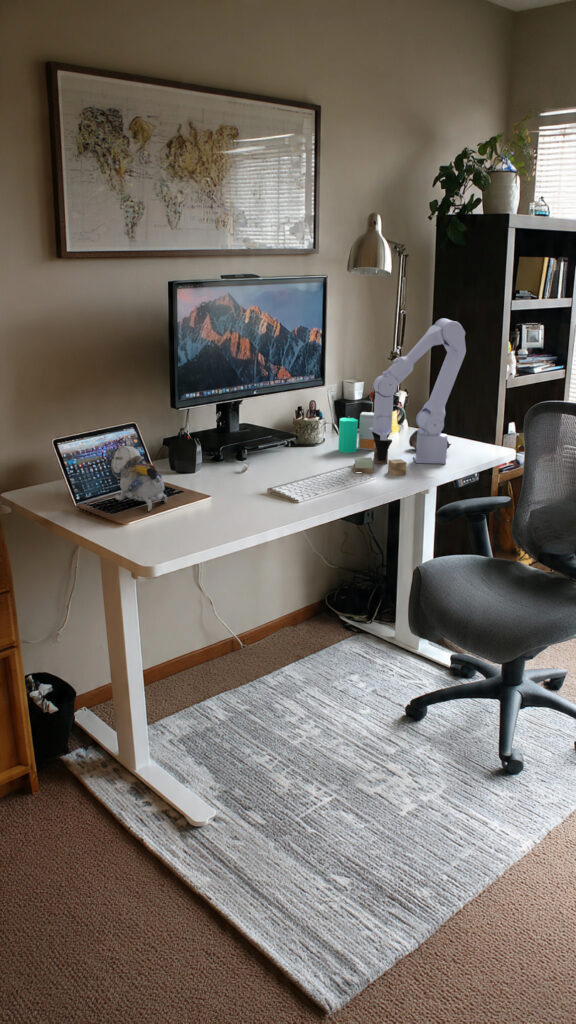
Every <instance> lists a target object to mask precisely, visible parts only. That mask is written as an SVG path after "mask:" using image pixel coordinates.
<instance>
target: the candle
mask: <svg viewBox="0 0 576 1024" xmlns="http://www.w3.org/2000/svg"><path fill="white" fill-rule="evenodd" d="M338 422H339V424H338V444H337V445H338V446H337V447H338V448H337V450H338V452H340V453H346V454H350V453H351V454H353V453H356V452H357V449H358V447H357V446H358V445H357V444H358V429H359V427H358V426H359V424H358V423H359V420H358V419H356V418H354V417H341V418H339V421H338Z"/></svg>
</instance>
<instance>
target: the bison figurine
mask: <svg viewBox="0 0 576 1024" xmlns="http://www.w3.org/2000/svg"><path fill="white" fill-rule="evenodd" d="M417 434H418V429H417V430H415V431H413V433H412V434H411V435H410V437H409V439H408V445H409V446H410V448H411V447H412V448H414V449H416V448H417ZM451 445H452V443H449V441H448V439H447V450H448V449H449V448H450V446H451Z"/></svg>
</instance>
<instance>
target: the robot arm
mask: <svg viewBox="0 0 576 1024" xmlns="http://www.w3.org/2000/svg"><path fill="white" fill-rule="evenodd" d="M465 337H466V331H465V329H464V328H463V326H462V324H461V323H460V322H459V321H454V320H451V319H449V318H445V317H444V318H440V319H438V320H436V321H435V323H434V324H432V325H431V326H430V327H429V328H428V330H427V331H426V332H425V333H424V335H423V336H422V337H421V338H420V339H419V340H418V342H417V343H416V344H415V345H414V346H413V348H412V349H411V350H410V351H409V352H408V353H407V354H406V355H405V356H399V357H398V358H395V359H393V360H392V362H393V363H392V364H391V365H390V366H389V367H388V368H387V369H386V370H384V371H382V374H381V375H379V376H377V377H376V378H375V380H374V382H373V384H372V388H373V390H374V391H375V393H374V395H375V396H374V405H373V406H374V408H373V413H374V422H373V428H369V431H373V432H372V434H373V437H374V442H375V447H376V448H377V457H378V461H385V459H386V456H387V452H388V453H389V449H390V446H391V444H392V443H393V439H392V438H391V439H388V438H390V434H391V433H392V432H393V429H392V428H393V425H392V424H393V414H394V413H393V412H394V394H395V393H396V392H397V389H398V386H399V385H400V384H401V383H402V382H403V381H404V380H405V379H406V378H407V377H408V376H409V375H410V374H411V373H412V372H413V371H414V365H415V363H417V361H418V360H420V358H422V356H424V355H425V354H426V353H427V352H428V351H429V350H430V349H431V348H432V347H434V346H441V345H443V346H444V348H445V351H446V355H445V358H444V361H443V362H442V366H441V368H440V371H439V374H438V375H437V379H436V381H435V384H434V386H433V389H432V391H431V394H430V396H429V399H428V400H427V401H426V402H425V403H424V405H423V406H422V409H421V410H420V411H419V412H418V413H417V415H416V418H415V422H416V425H417V426H418V429H417V430H418V434H417V448H416V451H415V454H413V459H414V461H415V463H416V464H442V465H443V464H445V465H446V464H447V454H448V453H447V451H448V449H447V440H448V435H447V433H442V431H443V430H444V428H445V417H446V404H447V402H448V399H449V396H450V395H451V392H452V390H453V387H454V385H455V382H456V379H457V376H458V373H459V371H460V369H461V366H462V364H463V361H464V359H465V356H466V352H467V348H466V347H467V346H466V339H465Z"/></svg>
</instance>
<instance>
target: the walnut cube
mask: <svg viewBox="0 0 576 1024" xmlns="http://www.w3.org/2000/svg"><path fill="white" fill-rule="evenodd" d="M388 456H389V451H388V452H387V456H386V459H385V461H378V457H377V448H374V452H373V464H378V465H379V464H380V465H381V464H384V465H387V464H388V461H389V459H388V458H389V457H388Z"/></svg>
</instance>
